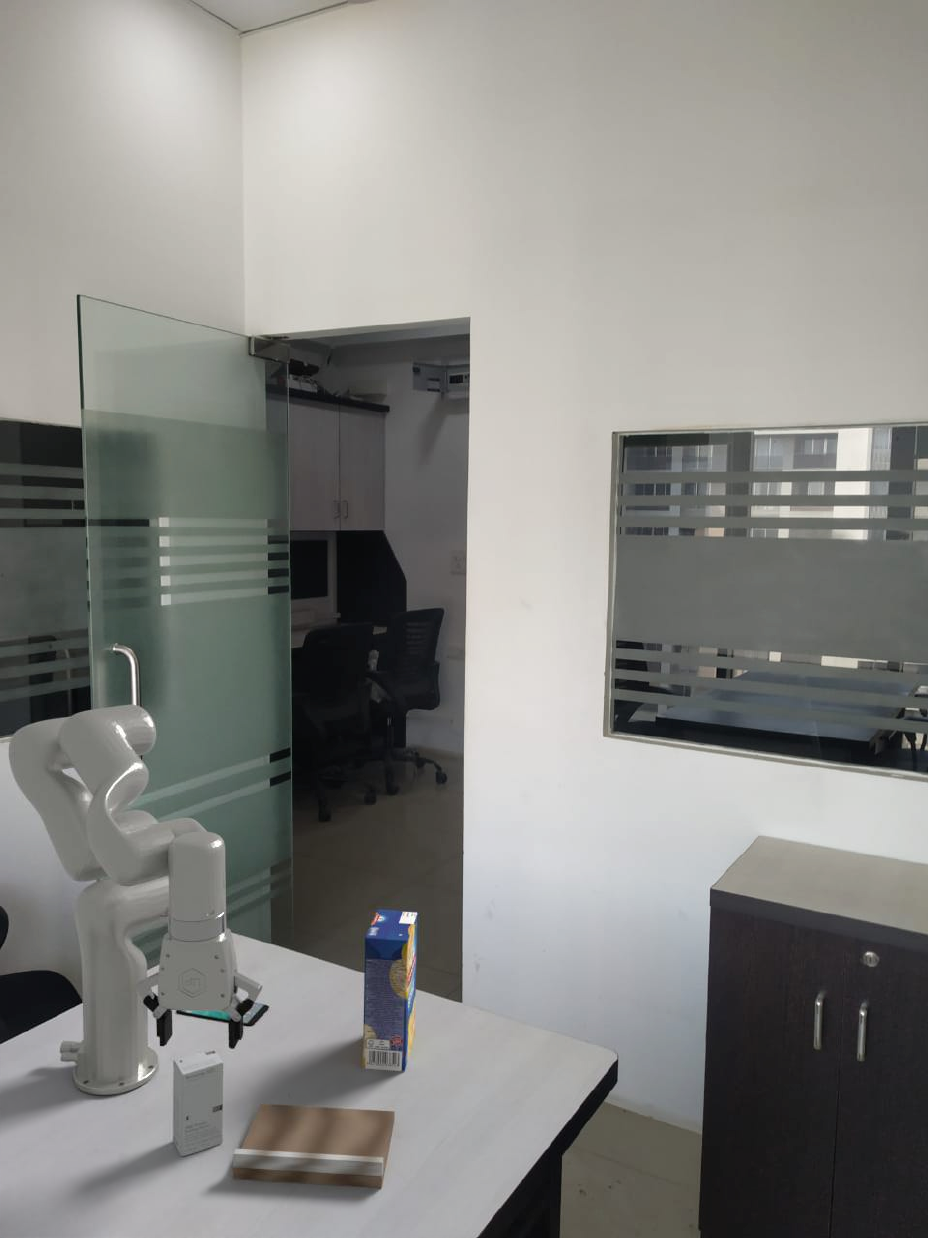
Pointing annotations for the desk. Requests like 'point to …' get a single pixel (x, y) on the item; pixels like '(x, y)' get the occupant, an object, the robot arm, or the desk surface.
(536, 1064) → the desk surface
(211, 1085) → the skincare box
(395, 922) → the beverage box
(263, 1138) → the shelf board
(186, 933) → the robot arm
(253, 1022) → the smartphone
